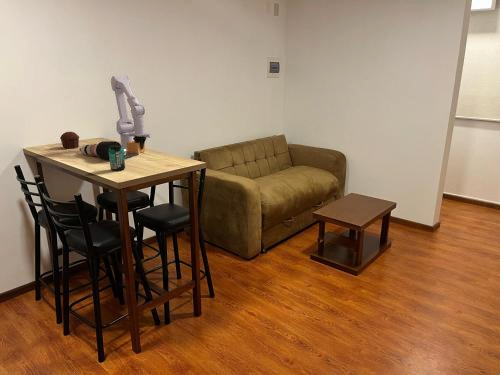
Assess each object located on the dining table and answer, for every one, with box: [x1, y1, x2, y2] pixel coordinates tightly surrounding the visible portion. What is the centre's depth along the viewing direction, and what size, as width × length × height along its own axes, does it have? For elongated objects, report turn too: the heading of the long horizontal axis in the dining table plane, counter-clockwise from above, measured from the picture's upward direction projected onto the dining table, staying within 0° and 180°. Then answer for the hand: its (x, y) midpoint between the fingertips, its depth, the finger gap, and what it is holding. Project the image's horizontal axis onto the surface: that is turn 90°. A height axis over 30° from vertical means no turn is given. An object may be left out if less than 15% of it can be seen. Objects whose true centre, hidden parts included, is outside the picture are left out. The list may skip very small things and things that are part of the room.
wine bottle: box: [78, 140, 121, 161], centre depth 226 cm, size 10×34×10 cm, turn 51°
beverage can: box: [109, 145, 126, 172], centre depth 196 cm, size 7×7×12 cm
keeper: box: [123, 149, 140, 160], centre depth 227 cm, size 14×11×4 cm
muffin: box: [59, 131, 80, 150], centre depth 251 cm, size 12×11×10 cm
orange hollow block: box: [126, 141, 146, 154], centre depth 238 cm, size 8×8×6 cm
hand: (140, 148), depth 238 cm, fingers closed on orange hollow block
